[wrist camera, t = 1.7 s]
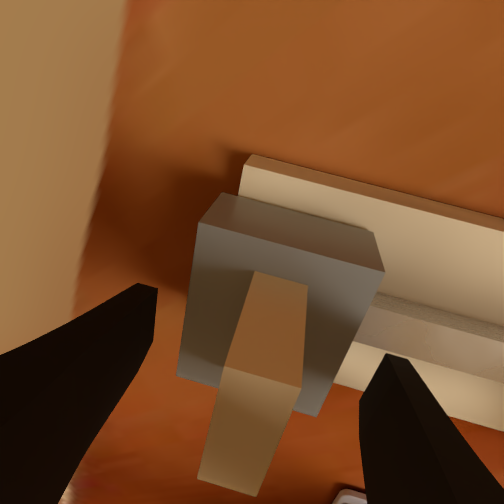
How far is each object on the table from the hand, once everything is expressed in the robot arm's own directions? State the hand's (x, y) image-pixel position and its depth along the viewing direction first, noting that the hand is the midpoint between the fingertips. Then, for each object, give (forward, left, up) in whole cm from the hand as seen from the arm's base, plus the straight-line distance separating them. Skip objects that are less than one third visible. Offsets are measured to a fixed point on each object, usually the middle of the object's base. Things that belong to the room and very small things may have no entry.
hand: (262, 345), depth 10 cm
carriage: (0, 0, -3) cm, 3 cm away
